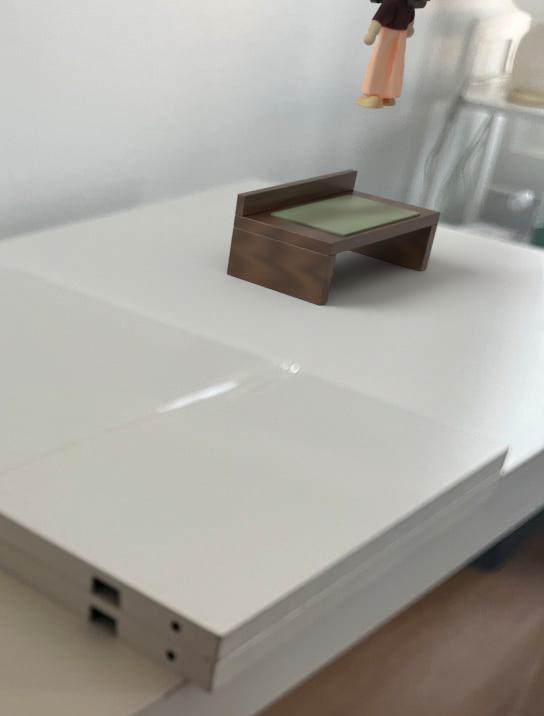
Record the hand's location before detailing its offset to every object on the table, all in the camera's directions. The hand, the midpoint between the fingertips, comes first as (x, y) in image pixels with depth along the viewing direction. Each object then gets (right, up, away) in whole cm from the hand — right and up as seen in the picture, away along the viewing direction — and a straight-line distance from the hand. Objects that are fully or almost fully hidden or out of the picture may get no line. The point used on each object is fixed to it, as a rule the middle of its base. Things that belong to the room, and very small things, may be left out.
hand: (397, 4), depth 93 cm
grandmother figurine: (0, -7, +5) cm, 8 cm away
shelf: (-2, -18, +18) cm, 25 cm away
